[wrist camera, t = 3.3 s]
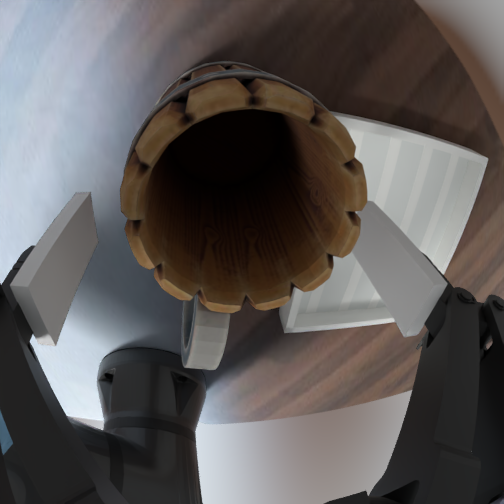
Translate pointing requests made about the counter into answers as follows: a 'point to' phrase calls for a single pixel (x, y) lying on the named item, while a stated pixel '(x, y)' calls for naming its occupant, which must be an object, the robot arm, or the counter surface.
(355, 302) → the white tray
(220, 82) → the mug
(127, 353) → the robot arm
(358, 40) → the counter surface
